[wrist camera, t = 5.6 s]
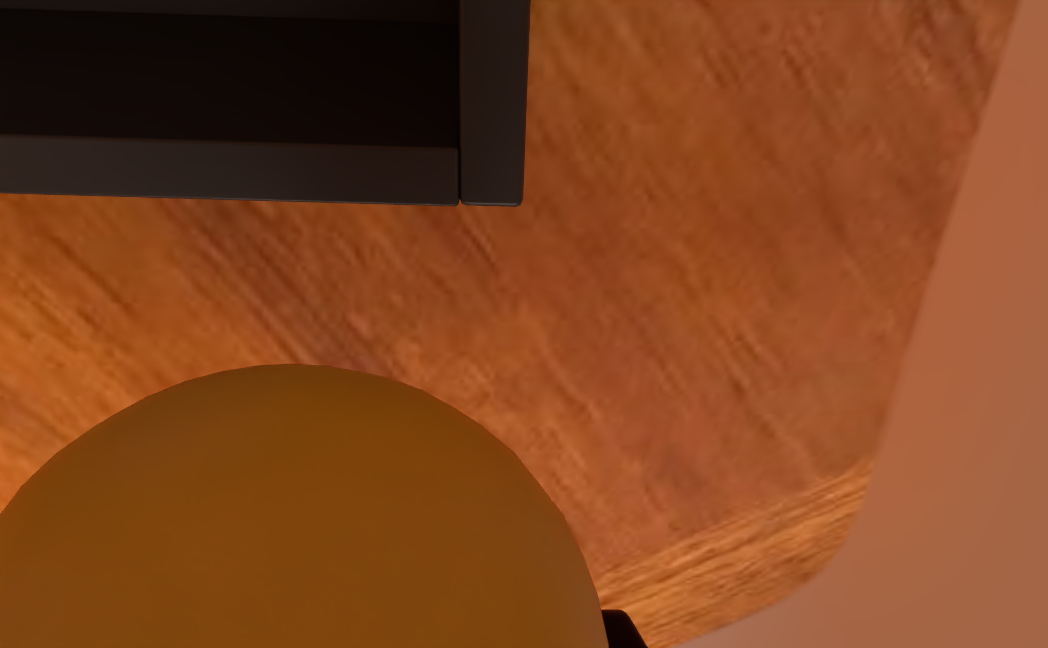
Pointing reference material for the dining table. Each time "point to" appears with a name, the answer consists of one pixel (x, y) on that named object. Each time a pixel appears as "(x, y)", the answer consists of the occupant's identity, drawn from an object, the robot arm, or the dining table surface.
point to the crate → (266, 100)
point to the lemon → (291, 526)
